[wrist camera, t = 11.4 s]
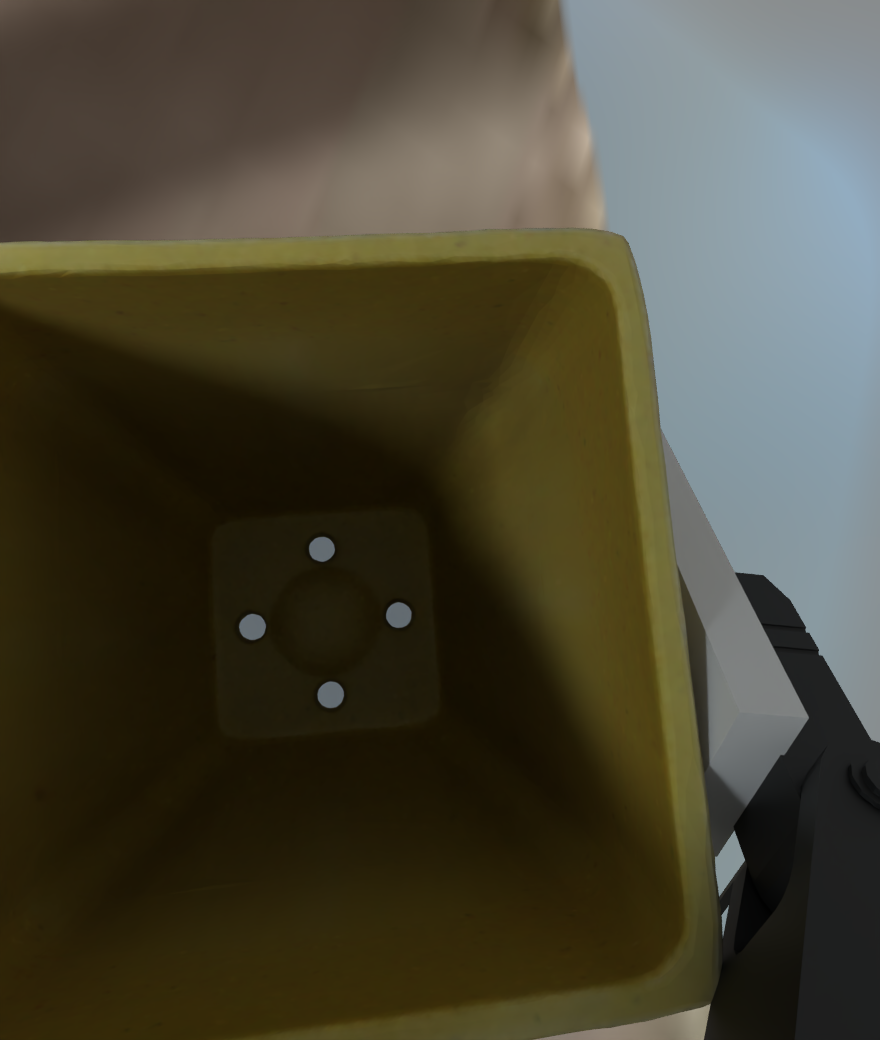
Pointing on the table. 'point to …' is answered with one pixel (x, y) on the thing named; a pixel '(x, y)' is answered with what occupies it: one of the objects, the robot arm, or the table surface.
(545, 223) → the table surface
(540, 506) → the flower pot
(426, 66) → the table surface
